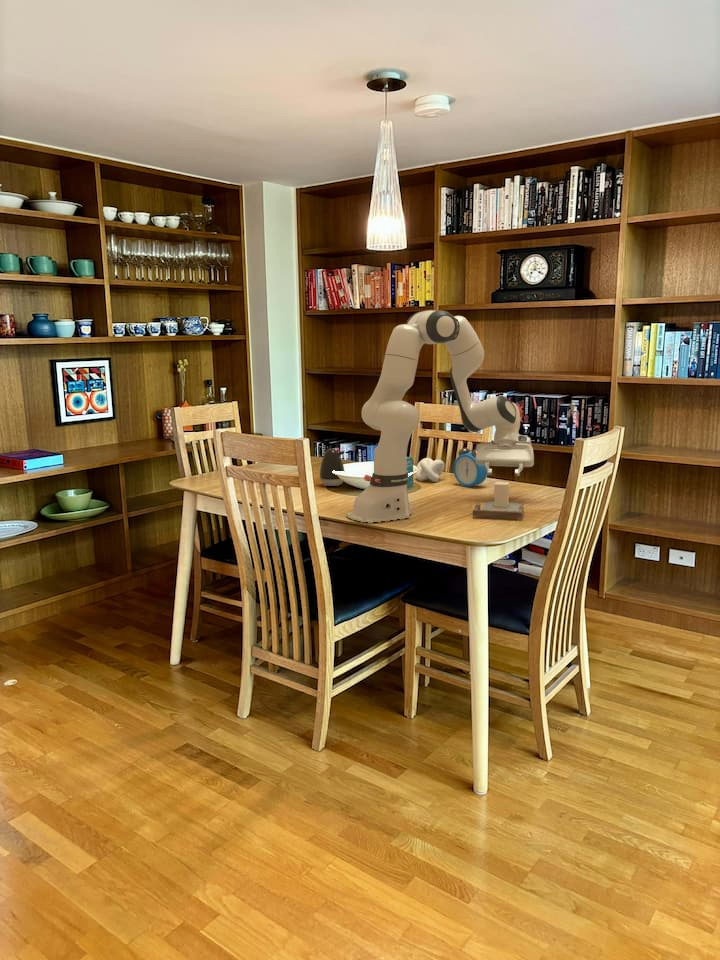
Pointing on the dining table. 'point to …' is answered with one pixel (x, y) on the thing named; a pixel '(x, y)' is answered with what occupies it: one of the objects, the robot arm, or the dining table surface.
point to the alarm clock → (468, 469)
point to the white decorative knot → (429, 469)
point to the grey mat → (511, 507)
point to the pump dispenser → (331, 467)
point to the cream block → (501, 494)
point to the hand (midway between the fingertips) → (503, 474)
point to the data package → (410, 469)
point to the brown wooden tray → (497, 514)
